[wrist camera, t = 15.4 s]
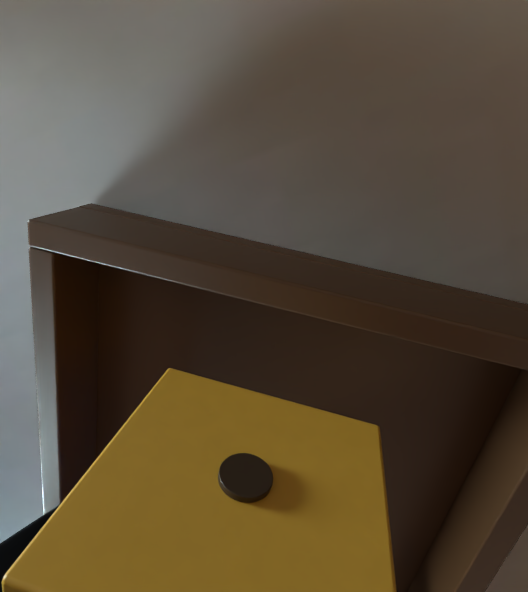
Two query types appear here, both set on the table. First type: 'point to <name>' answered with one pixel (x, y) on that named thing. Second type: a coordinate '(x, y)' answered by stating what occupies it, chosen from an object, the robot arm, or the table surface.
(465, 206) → the table surface
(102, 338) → the tray
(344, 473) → the ochre die
